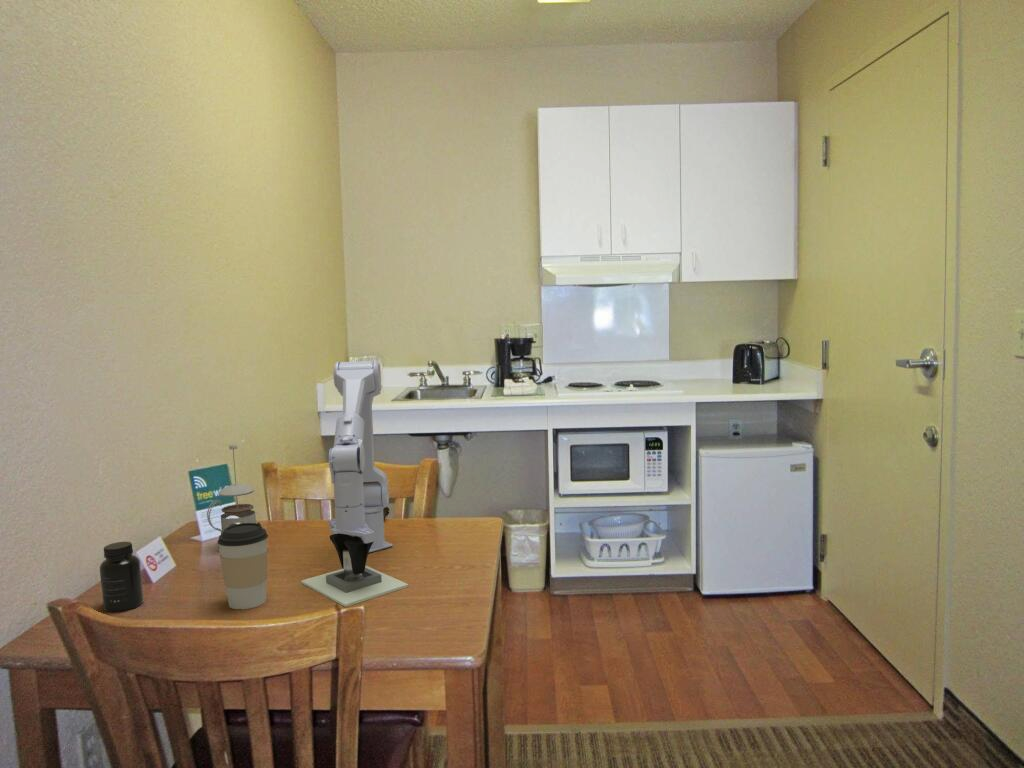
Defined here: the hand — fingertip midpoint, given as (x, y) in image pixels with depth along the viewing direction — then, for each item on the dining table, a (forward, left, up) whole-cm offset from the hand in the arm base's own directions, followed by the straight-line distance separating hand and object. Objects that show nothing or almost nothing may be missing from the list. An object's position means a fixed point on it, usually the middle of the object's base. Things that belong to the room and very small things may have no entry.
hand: (353, 570), depth 150 cm
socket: (0, 0, -3) cm, 3 cm away
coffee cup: (-7, -19, -3) cm, 20 cm away
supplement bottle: (-23, -37, -3) cm, 43 cm away
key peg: (0, 0, -2) cm, 2 cm away
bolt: (-35, +25, -3) cm, 44 cm away
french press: (-42, -7, -3) cm, 43 cm away
